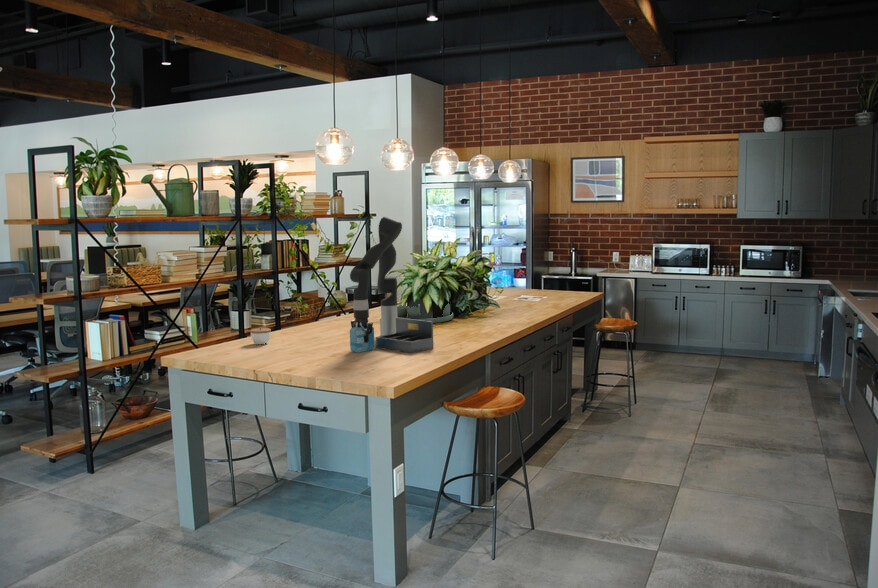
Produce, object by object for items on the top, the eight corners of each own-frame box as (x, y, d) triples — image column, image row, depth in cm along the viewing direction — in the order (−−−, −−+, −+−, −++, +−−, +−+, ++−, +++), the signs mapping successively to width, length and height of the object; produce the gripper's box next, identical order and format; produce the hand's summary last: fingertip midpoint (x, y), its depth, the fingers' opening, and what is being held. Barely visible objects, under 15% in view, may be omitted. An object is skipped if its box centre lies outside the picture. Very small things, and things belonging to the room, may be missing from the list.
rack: (376, 347, 358) (375, 321, 356) (397, 342, 370) (397, 317, 368) (412, 353, 342) (411, 326, 340) (433, 348, 354) (432, 321, 352)
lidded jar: (266, 345, 370) (265, 328, 369) (247, 345, 372) (246, 328, 371) (274, 342, 381) (274, 325, 380) (256, 341, 383) (255, 324, 382)
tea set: (440, 313, 476) (440, 289, 474) (461, 321, 438) (461, 295, 436) (384, 317, 463) (383, 292, 461) (400, 326, 425) (400, 299, 424)
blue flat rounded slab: (355, 353, 346) (354, 329, 344) (350, 351, 349) (349, 328, 348) (374, 349, 354) (374, 326, 352) (369, 348, 357) (368, 325, 356)
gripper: (345, 308, 351) (347, 341, 353) (365, 310, 341) (366, 344, 343) (356, 306, 356) (358, 339, 358) (376, 308, 347) (377, 342, 349)
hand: (362, 341), depth 351 cm, fingers open, 5 cm apart
